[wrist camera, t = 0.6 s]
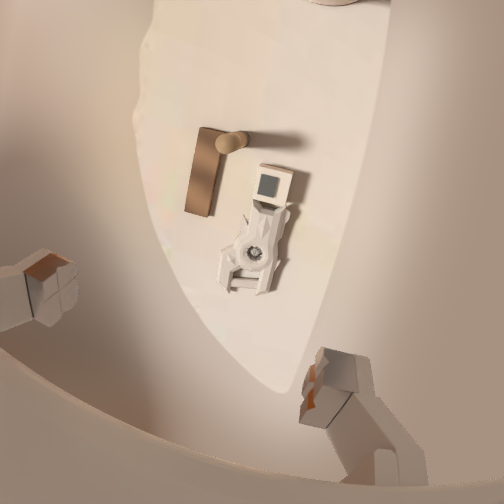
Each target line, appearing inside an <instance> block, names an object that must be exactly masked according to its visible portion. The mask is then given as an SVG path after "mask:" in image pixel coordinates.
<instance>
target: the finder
mask: <svg viewBox="0 0 504 504" xmlns="http://www.w3.org/2000/svg"><path fill="white" fill-rule="evenodd" d="M293 172H294V171H290V170H286V169H282V168H278V167H274V166H270V165H266V164H262V163H261V164H260V165H259V166H258V171H257V175H256V180H255V185H254V189H253V194H252V199H255V200H259V201H263V202H267V203H271V204H275V205H279V206H283V207H285V204H286V201H287V197H288V193H289V189H290V185H291V181H292V177H293Z"/></svg>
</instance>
